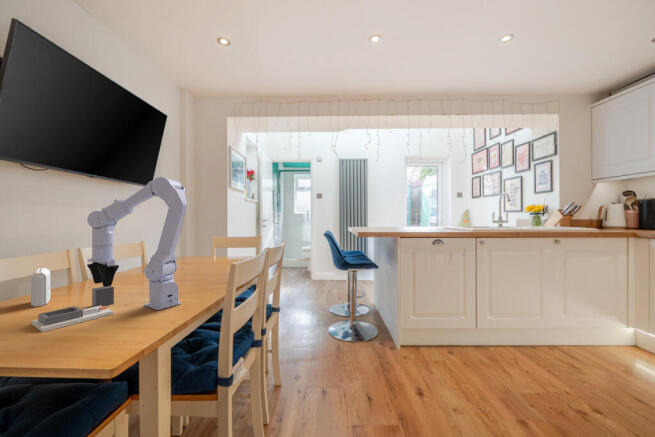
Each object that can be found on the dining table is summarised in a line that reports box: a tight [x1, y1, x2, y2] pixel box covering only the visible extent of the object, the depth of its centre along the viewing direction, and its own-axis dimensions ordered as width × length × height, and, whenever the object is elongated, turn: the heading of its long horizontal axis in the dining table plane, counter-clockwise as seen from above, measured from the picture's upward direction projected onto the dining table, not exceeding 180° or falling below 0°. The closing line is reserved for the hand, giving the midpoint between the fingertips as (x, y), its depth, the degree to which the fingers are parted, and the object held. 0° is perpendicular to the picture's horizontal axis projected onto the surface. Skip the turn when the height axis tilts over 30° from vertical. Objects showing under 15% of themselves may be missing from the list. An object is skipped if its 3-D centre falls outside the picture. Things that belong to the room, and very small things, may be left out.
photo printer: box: [30, 267, 52, 308], centre depth 98 cm, size 10×4×12 cm, turn 39°
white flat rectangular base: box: [31, 305, 114, 333], centre depth 83 cm, size 10×16×3 cm, turn 148°
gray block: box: [91, 285, 115, 307], centre depth 96 cm, size 4×5×6 cm
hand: (102, 284), depth 96 cm, fingers open, 7 cm apart
